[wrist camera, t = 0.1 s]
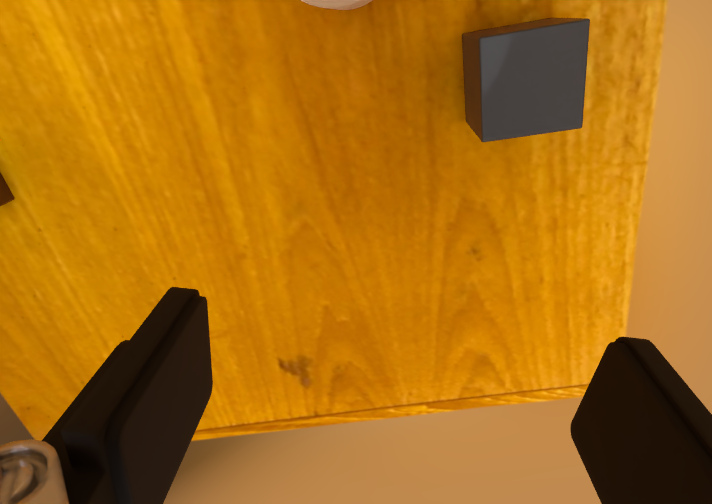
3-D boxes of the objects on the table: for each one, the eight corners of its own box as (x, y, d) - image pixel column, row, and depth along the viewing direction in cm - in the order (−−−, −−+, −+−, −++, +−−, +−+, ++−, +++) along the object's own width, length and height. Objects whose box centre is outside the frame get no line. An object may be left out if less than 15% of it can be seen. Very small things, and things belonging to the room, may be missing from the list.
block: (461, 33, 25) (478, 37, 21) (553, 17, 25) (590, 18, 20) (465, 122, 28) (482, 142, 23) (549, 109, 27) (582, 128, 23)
